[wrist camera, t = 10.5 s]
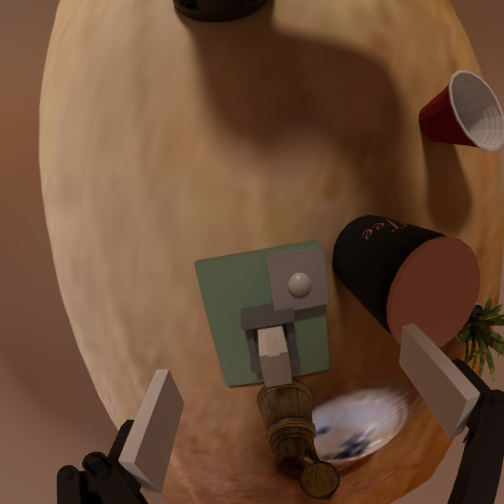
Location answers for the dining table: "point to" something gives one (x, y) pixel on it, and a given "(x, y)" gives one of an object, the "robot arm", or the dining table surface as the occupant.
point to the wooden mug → (296, 435)
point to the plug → (274, 356)
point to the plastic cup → (464, 114)
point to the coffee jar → (408, 276)
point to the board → (267, 307)
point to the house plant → (483, 334)
